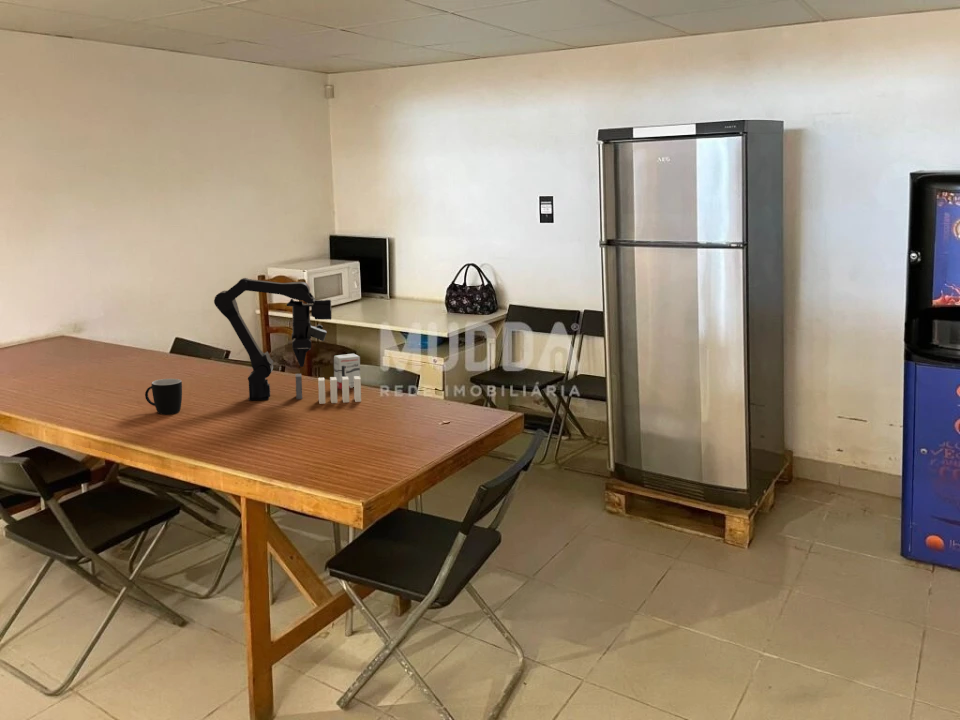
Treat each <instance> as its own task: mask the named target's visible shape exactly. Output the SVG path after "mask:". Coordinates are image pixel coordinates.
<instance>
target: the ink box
mask: <svg viewBox="0 0 960 720" xmlns="http://www.w3.org/2000/svg"><path fill="white" fill-rule="evenodd" d="M354 376H360V377H361V356H360V355H357V354H355V353H347V354H338V355H334V356H333V377H336V379H337V390H342V377H348V379H349V389H354V388H353V387H354Z"/></svg>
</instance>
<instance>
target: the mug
mask: <svg viewBox="0 0 960 720" xmlns="http://www.w3.org/2000/svg"><path fill="white" fill-rule="evenodd" d="M150 390H151V392H152V396H153V397H152V398H153V401H152V400H151V399H150V397H149V391H150ZM144 396H145V400H146V401H147V402H146V403H149V404H150V405H151V406H153V407H155V410H156V412H157V413H158V414H159V415H162V416H168V415H169V416H170V415H176V414H179V412H180V411H181V408H182V403H183V402H182V398H183V382H182V379H179V378H161V379H156V380H153V381H152V382H151V386H149V387H148V388H146V390H145V393H144Z"/></svg>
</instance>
